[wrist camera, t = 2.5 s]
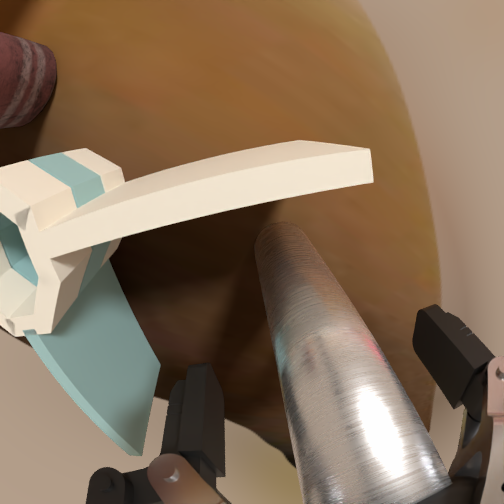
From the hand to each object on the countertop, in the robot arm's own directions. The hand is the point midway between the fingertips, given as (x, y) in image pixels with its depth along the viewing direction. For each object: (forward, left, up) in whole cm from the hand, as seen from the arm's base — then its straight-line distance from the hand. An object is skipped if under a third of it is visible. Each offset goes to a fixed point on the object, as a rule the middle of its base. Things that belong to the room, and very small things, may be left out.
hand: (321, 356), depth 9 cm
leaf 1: (-1, -12, -9) cm, 15 cm away
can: (-16, -14, -10) cm, 24 cm away
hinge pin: (0, 0, -10) cm, 10 cm away
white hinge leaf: (-6, -7, -9) cm, 13 cm away
